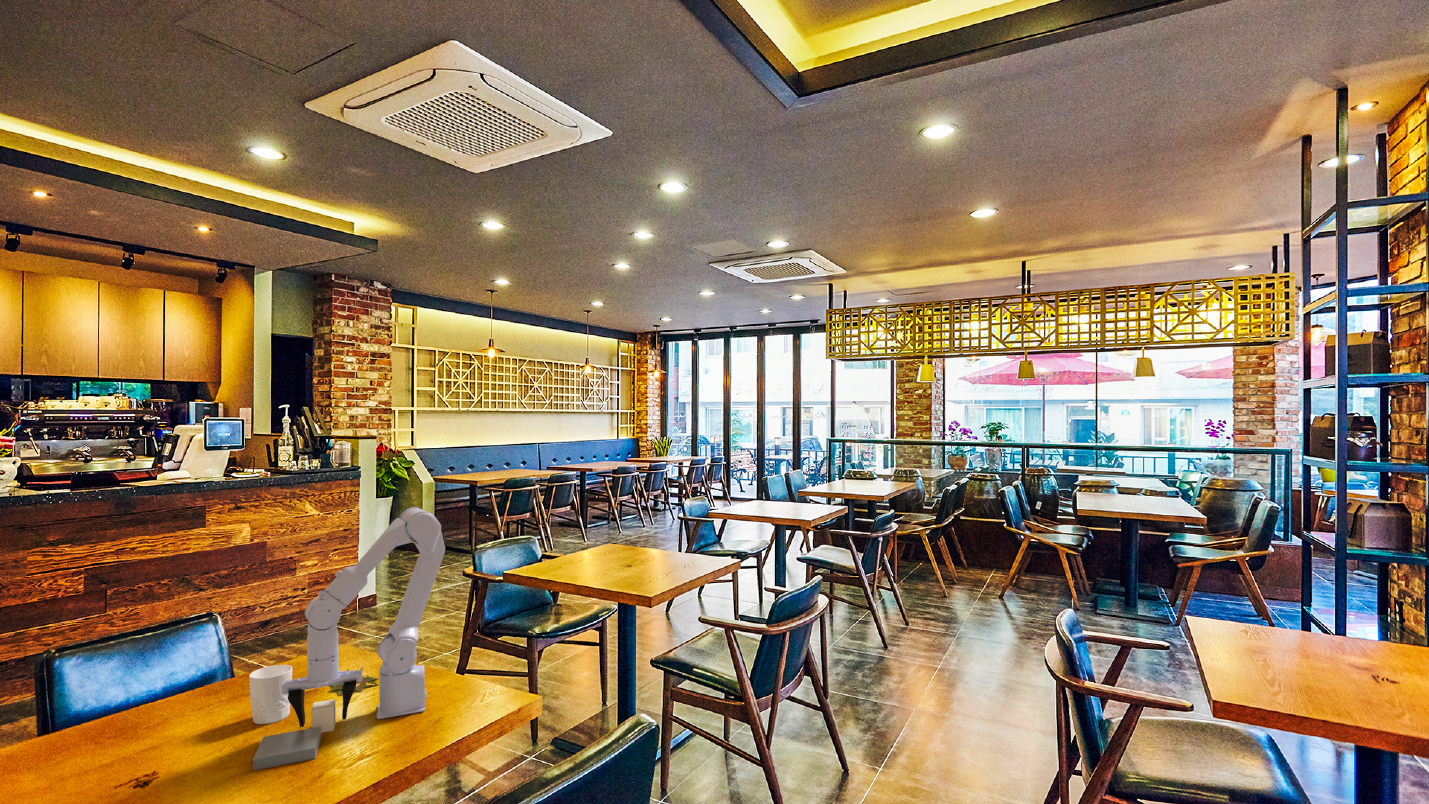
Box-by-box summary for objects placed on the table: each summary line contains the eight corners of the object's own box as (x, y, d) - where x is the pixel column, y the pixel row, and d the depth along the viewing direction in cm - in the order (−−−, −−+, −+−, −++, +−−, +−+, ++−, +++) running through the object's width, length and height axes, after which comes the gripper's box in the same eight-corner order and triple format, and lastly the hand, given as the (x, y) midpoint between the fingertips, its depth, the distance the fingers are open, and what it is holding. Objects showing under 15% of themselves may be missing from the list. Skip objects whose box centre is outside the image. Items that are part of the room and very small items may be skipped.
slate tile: (321, 736, 140) (321, 726, 140) (315, 758, 131) (315, 748, 131) (263, 746, 136) (263, 736, 136) (253, 770, 127) (252, 759, 127)
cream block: (335, 722, 146) (335, 699, 146) (333, 730, 143) (333, 706, 143) (313, 726, 145) (313, 702, 145) (311, 734, 141) (311, 710, 141)
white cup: (271, 727, 145) (271, 679, 145) (240, 724, 146) (239, 677, 146) (301, 711, 152) (301, 665, 152) (271, 708, 154) (270, 663, 154)
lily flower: (319, 687, 167) (319, 668, 167) (372, 674, 175) (372, 656, 175) (333, 702, 158) (333, 682, 158) (388, 687, 166) (388, 668, 166)
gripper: (279, 668, 137) (279, 736, 137) (360, 656, 143) (361, 722, 143) (284, 656, 144) (285, 722, 144) (362, 646, 150) (363, 709, 149)
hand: (323, 721), depth 144 cm, fingers open, 7 cm apart
